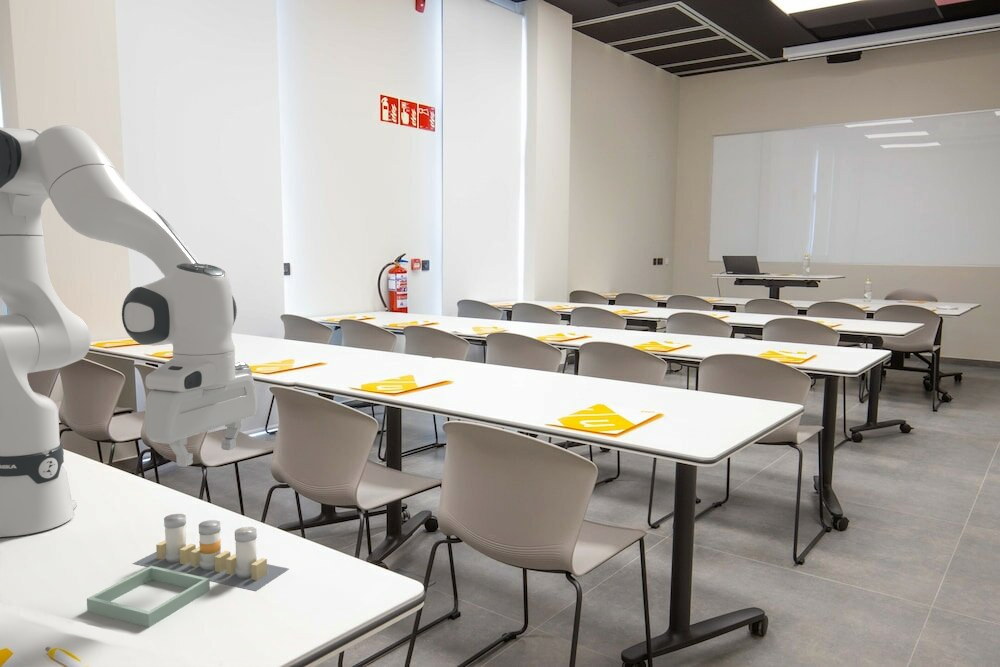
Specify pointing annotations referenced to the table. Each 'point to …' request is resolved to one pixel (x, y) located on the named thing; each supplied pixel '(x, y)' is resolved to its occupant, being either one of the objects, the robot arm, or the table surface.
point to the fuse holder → (223, 567)
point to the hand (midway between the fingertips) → (207, 457)
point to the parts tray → (133, 615)
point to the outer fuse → (245, 550)
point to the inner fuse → (174, 536)
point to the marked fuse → (209, 543)
